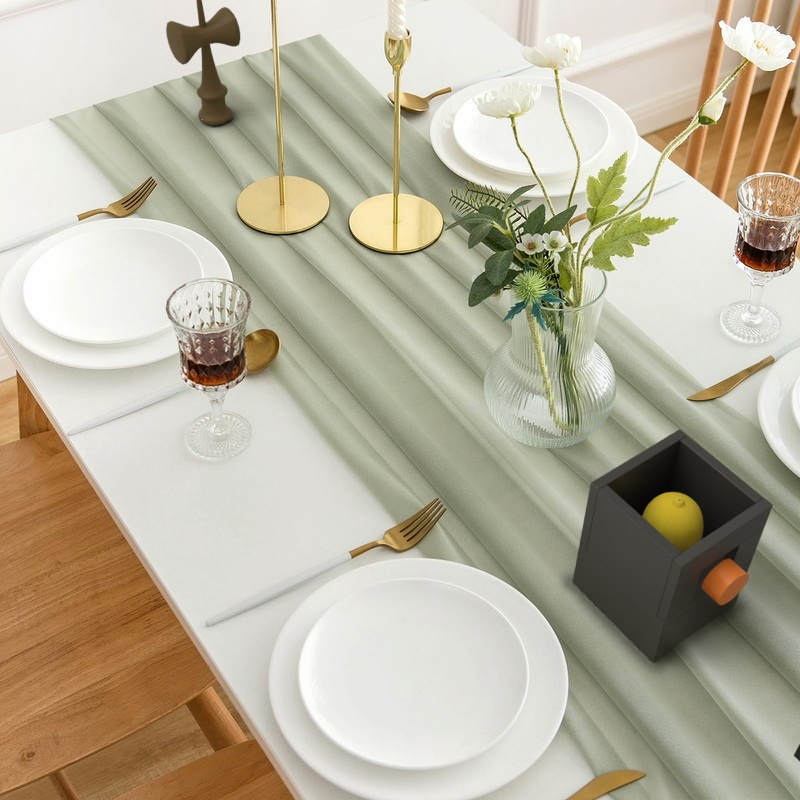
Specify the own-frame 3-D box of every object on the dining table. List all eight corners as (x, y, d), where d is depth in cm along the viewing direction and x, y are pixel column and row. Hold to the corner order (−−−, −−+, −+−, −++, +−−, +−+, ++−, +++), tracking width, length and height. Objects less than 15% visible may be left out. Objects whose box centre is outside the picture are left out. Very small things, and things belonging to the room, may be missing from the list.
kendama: (178, 120, 165) (156, -8, 151) (234, 101, 169) (218, -25, 155) (196, 137, 162) (175, 9, 147) (253, 118, 165) (238, -10, 151)
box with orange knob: (735, 603, 104) (773, 504, 93) (652, 663, 99) (682, 566, 88) (653, 529, 110) (679, 428, 99) (571, 582, 105) (590, 482, 95)
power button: (743, 591, 95) (752, 567, 93) (715, 611, 94) (723, 587, 91) (726, 576, 96) (735, 551, 94) (698, 596, 95) (706, 571, 92)
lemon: (639, 580, 98) (653, 525, 93) (629, 531, 102) (642, 476, 96) (700, 579, 98) (717, 524, 93) (687, 530, 102) (704, 475, 97)
